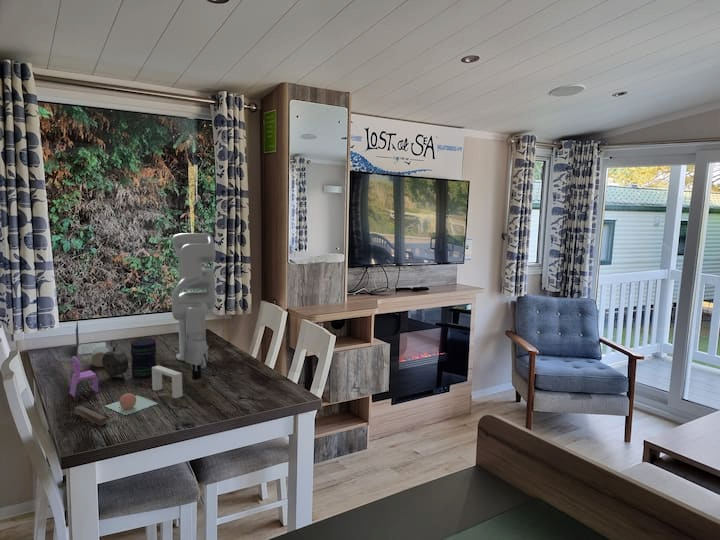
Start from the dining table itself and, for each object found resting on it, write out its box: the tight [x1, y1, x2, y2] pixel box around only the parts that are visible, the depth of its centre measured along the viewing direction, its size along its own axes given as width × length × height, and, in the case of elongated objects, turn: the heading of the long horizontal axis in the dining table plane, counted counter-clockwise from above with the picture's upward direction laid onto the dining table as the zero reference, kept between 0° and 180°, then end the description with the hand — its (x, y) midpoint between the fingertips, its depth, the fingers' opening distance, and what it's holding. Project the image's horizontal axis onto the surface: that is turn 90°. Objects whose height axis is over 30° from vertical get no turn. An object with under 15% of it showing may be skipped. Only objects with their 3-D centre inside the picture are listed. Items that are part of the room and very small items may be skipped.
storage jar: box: [130, 338, 158, 381], centre depth 214 cm, size 10×10×15 cm
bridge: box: [151, 364, 183, 399], centre depth 196 cm, size 3×14×9 cm, turn 56°
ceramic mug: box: [90, 346, 111, 368], centre depth 227 cm, size 11×8×8 cm
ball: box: [119, 393, 136, 409], centre depth 181 cm, size 6×6×6 cm
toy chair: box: [68, 356, 99, 398], centre depth 194 cm, size 8×9×15 cm
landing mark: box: [104, 394, 159, 416], centre depth 184 cm, size 13×13×1 cm
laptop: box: [75, 320, 107, 356], centre depth 249 cm, size 18×12×13 cm
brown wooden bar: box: [74, 405, 107, 426], centre depth 172 cm, size 2×16×2 cm, turn 56°
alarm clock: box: [102, 340, 129, 380], centre depth 210 cm, size 11×5×16 cm, turn 65°
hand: (196, 378), depth 208 cm, fingers closed
